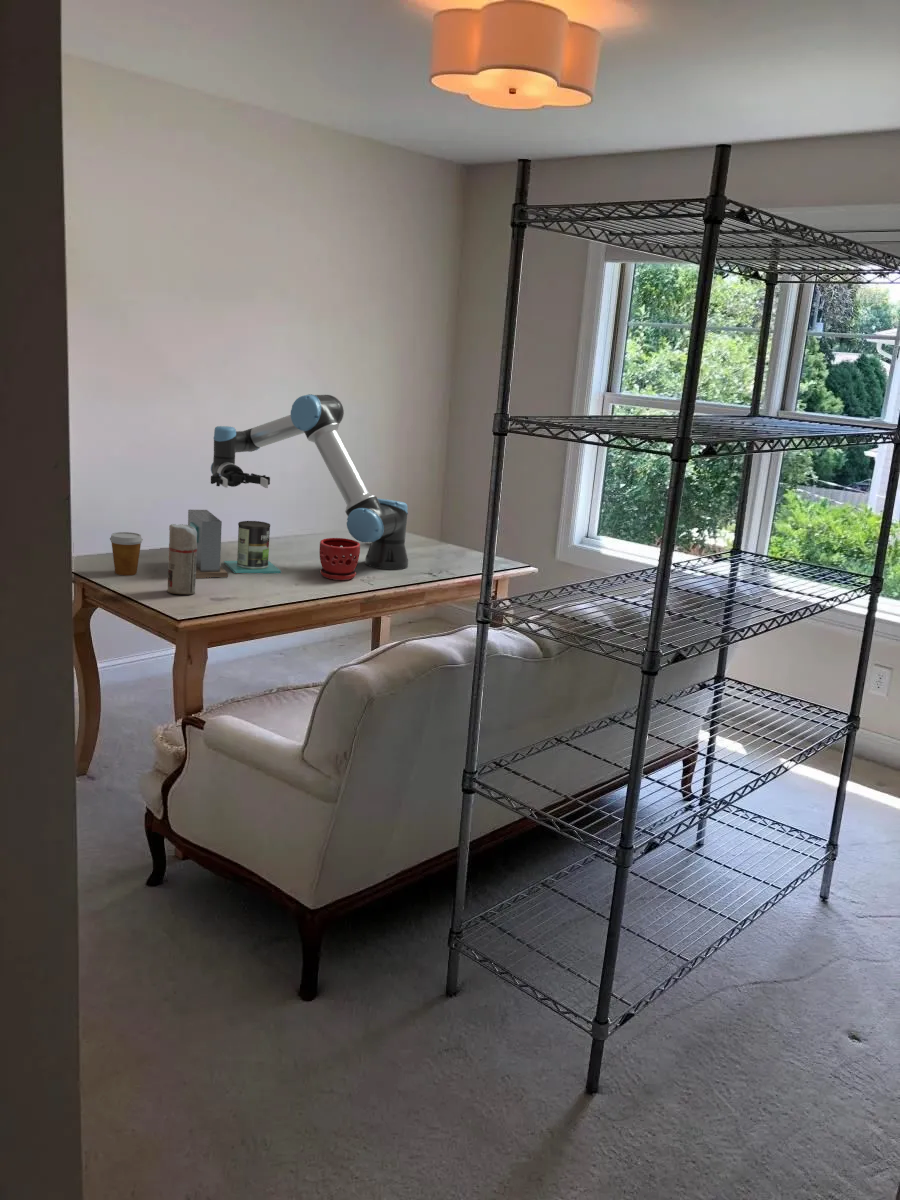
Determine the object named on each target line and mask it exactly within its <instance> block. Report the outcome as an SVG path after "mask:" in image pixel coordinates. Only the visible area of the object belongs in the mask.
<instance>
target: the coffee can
mask: <svg viewBox="0 0 900 1200" xmlns="http://www.w3.org/2000/svg"><path fill="white" fill-rule="evenodd" d="M237 524H238V531H237V534H238V535H237V560H236V561H237V566H239V567H242V568H247V569H263V568H267V567H268V561H269V556H270V555H269V554H270V553H269V552H270V534H271V533H270V531H271V523H268V522H265V521H257V520H243V521H239V522H238V523H237Z"/></svg>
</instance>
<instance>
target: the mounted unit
mask: <svg viewBox="0 0 900 1200" xmlns="http://www.w3.org/2000/svg"><path fill="white" fill-rule="evenodd" d="M187 514H188V515H187V525H188V526H191V527H194V528H195V529H196V531H197V561H196V579H212V578H211V577H228V576H229V573H228V571H226V570H225V569H224V567H222V566H221V554H222V553H221V552H222V550H221V549H222V520H220V518H218V517H217V516H215V515H214V514H213V513H212V512H210V511H209V510H208V509H188V510H187ZM206 577H207V578H206ZM209 577H210V578H209Z"/></svg>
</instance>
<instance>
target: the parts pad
mask: <svg viewBox="0 0 900 1200" xmlns="http://www.w3.org/2000/svg"><path fill="white" fill-rule="evenodd" d="M224 563H225V564H226V565H227V566H228V567H229V568H230V571H231V572H233V574H235V573H263V574H282V569H280V568H279V567H277V566H275V564H273V563H272V562H271V561H269V560H268V567H267V568H263V569H247V568H242V567H239V566H237V560H224V561H223V564H224ZM225 564H224V565H225ZM226 565H225V566H226ZM227 566H226V567H227Z"/></svg>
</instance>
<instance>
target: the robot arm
mask: <svg viewBox="0 0 900 1200" xmlns="http://www.w3.org/2000/svg"><path fill="white" fill-rule="evenodd" d="M344 411H345V410H344V406H343V404H342V401H340V400H339V399H338V398H337V397H335V396H333V395H331V394H311V393H310V394H309V393H308V394H306V395H302V396H301V395H300V396H299V397H297V398H296V399H295V400H294V402H293V403H292V405H291V409H290V415H286V416H283V417H280V418H277V419H275V420H271V421H269V422H266V423H263V424H260V425H257V426H254V427H252V428H251V427H250V428H249V429H246V430H239V431H237V430H236V428H235V427H234V426H229V425H223V426H222V425H220V426H219V425H218V426H215V427H214V429H213V430H214V433H213V460H212V461H213V462H212V463H211V465H210V472H211V475H210V484H211V485H213V484H215V485H216V487H220V486H221V487H224V488H225V489H226V488H228V487H231V488H235V487H238V486H240V485H241V484H245V485H246V484H256V485H260V486H261V487H263V488H265V489H268V487H269V485H270V484H271V476H266V474H263V475H260V474H256V473H247V472H244V471H243V469H242V468H241V467H240V466H238V465H236V453H244V452H248V453H249V452H250V453H251V452H255V451H259V449H260V448H262V447H265V446H269V445H271V444H274V443H277V442H278V443H279V442H280V441H284V440H286V439H289V438H293V437H296V436H298V435H301V434H305V436H306V439H307V440H308V441H309V442H312V443H314V444H315V446H316V448H317V450H318V452H319V453H320V456H321V458H322V459H323V461H324V463H325V465H326V467H327V470H328V471H329V473H330V475H331V478H332V479H333V481H334V483H335V484H336V486H337V487H336V488H338V490H339V492H340V494H341V496H342V498H343V500H344V501H345V502H344V503H345V504H346V507H345V511H344V512H345V513H346V516H347V518H346V521H347V522H346V528H347V531H348V533H349V534H350V535H351V537H352V538H353V539H354V540H355V541H357V542H361V543H370V545H369V548H368V550H367V553H366V555H365V561H364V563H365V565H366V566H368V567H372V568H376V569H381V570H382V569H384V570H403V569H406V568H408V567H409V558H408V553H407V549H406V535H407V534H406V532H407V521H408V515H409V513H408V509H409V508H408V507H409V506H408V504H407V503H406V502H404V501H399V500H392V499H387V498H378V497H377V495H375V494H372V493H370V492H369V490H368V488H367V486H366V484H365V483H364V481H363V478H362V476H361V475H360V472H359V471H358V468H357V467H356V465H355V463H354V461H353V458H352V457H351V455H350V453H349V451H348V449H347V447H346V445H345V443H344V441H343V440H342V438H341V436H340V434H339V432H338V430H339V427H340V423H341V422H342V420H343V419H344V414H345V413H344Z"/></svg>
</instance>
